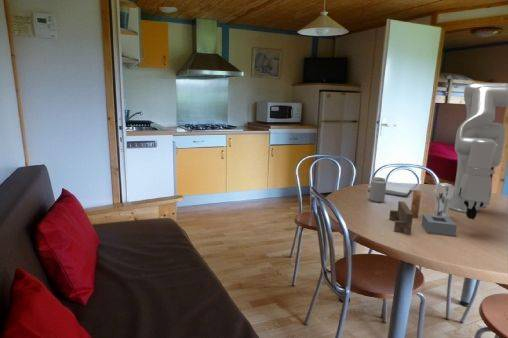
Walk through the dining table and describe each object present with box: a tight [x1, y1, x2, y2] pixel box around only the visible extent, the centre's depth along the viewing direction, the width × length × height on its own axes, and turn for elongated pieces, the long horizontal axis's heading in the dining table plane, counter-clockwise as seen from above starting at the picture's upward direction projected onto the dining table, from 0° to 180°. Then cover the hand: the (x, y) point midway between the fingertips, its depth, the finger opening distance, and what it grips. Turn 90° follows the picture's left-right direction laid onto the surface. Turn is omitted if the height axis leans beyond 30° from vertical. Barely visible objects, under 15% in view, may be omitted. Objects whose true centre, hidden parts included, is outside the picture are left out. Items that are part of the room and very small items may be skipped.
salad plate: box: [367, 180, 414, 197], centre depth 199 cm, size 21×21×3 cm
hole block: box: [420, 213, 458, 237], centre depth 139 cm, size 10×10×4 cm
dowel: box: [410, 189, 422, 219], centre depth 153 cm, size 3×3×12 cm
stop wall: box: [388, 200, 414, 235], centre depth 142 cm, size 6×18×8 cm, turn 166°
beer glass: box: [432, 182, 455, 217], centre depth 154 cm, size 7×7×15 cm
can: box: [368, 176, 387, 203], centre depth 177 cm, size 8×8×12 cm
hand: (470, 218), depth 135 cm, fingers closed
